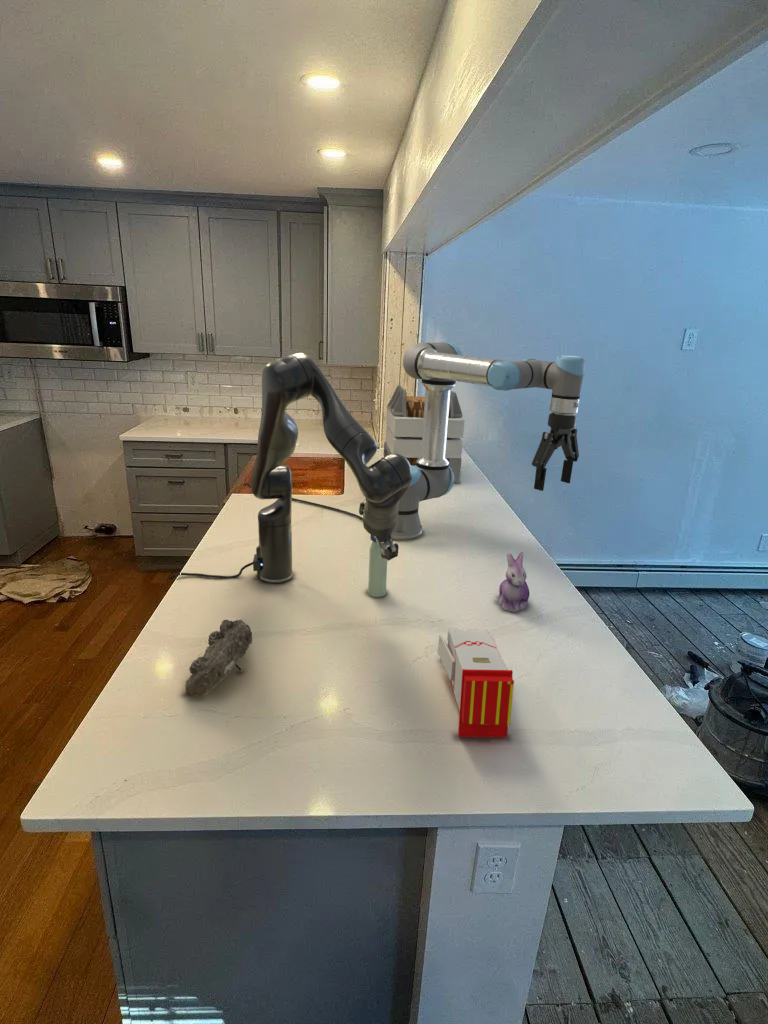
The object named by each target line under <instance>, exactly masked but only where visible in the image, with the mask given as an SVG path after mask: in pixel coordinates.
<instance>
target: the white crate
mask: <svg viewBox="0 0 768 1024" xmlns="http://www.w3.org/2000/svg"><path fill="white" fill-rule="evenodd" d="M407 394H408V393H407V390H406V389H404V388H403V387H402V385H399V384H398V385H397V386H396V388H395V390H394V392H393V394H392V395H391V398H390V400H389V402H388V404H387V405H386V413H385V414H386V415H385V423H386V428H385V438H384V442H383V457H385V456H386V455H389V454H392V453H396V454H400V455H402V456H403V457H405V458H406V459H407V460H408V462H409V463H410V465H413V466H416V461H417V459H418V458H420V457H421V449H422V434H423V419H424V404H425V396H415V395H414V396H413V395H412V396H411V395H407ZM464 429H465V419H464V418H463V411H462V408H461V405H460V402H459V398H458V395H457V392H455V391H453V390H451V392H450V404H449V416H448V428H447V441H446V453H445V458H446V459H447V461H448V462H449V466H450V467H451V469H452V473H454V484H455V483H456V484H459V483H461V472H462V461H463V460H462V453H463V442H464V441H463V440H462V439H463V438H464V431H465V430H464Z"/></svg>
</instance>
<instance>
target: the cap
mask: <svg viewBox="0 0 768 1024" xmlns="http://www.w3.org/2000/svg"><path fill="white" fill-rule="evenodd" d="M370 541H372V542H377V541H376V538H375V537H374V536H373V535H371V534H370ZM380 542H382V541H380Z"/></svg>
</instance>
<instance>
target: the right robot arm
mask: <svg viewBox="0 0 768 1024" xmlns="http://www.w3.org/2000/svg"><path fill="white" fill-rule="evenodd" d="M585 365H586V360H585V358H584V357H582V356H578V355H566V354H565V355H564V354H563V355H558V356H557V357H556V360H555V361H549V360H541V359H536V358H524V359H521V360H506V359H505V360H504V359H503V360H502V359H496V358H487V357H479V356H471V355H464V354H463V352H462V350H461V349H460V347H459V346H457V345H456V344H455V343H451V342H445V341H443V342H442V341H441V342H440V341H439V342H438V341H437V342H417V343H414V344H412V345H411V346H409V347H408V348H407V350H406V351H405V353H404V355H403V358H402V366H403V369H404V372H405V373H406V374H407V375H408V376H409V377H411V378H412V379H415V380H421V385H422V386H423V387H424V389H425V392H424V397H425V404H424V419H423V434H422V449H421V457H420V458H418V459H417V461H416V466H413V465H411V468H412V482H411V484H410V486H409V488H408V490H407V491H406V493H405V494H404V496H403V497H402V498H401V499H400V501H399V506H398V507H399V511H398V517H397V522H396V526H395V529H394V530H393V532H392V533H391V537H392V540H395V541H410V540H415V539H418V538H420V537H421V536H422V535H423V525H422V524H421V518H420V515H419V507H420V506H419V505H420V502H423V501H427V500H431V499H437V498H440V497H443V496H446V495H448V493H450V492H451V490H452V489H453V488H454V487H453V486H454V484H455V483H454V473H452V469H451V467H450V466H449V462H448V461H447V459H446V458H445V453H446V441H447V428H448V416H449V404H450V392H451V391H452V389H453V388H454V387H455V386H456V384H457V382H461V383H465V384H473V385H479V386H487V387H491V388H492V389H494V390H496V391H503V392H504V391H511V390H520V389H532V388H533V389H534V388H539V389H546V390H551V398H550V404H549V413H548V418H547V419H548V420H547V426H548V427H549V428H550V431H549V432H548V431H543V432H542V435H541V440H540V442H539V445H538V447H537V449H536V452H535V454H534V457H533V460H532V461H531V466H533V467H535V475H534V477H535V478H534V485H533V489H534V490H537V491H539V492H543V491H544V489H545V484H546V483H545V482H546V476H547V468H546V466H547V465H548V463H549V461H550V459H551V457H552V456H553V454H554V453H555V451H556V450H557V449H558V448H560V447H561V449H562V452H563V455H564V458H565V459H563V463H562V468H561V469H562V470H561V475H560V482H562V483H566V484H571V478H572V472H573V466H574V463H576V462H578V461H579V457H580V453H579V444H578V428H576V423H577V419H578V416H577V414H578V412H579V411H578V410H579V406H580V397H581V391H582V385H583V380H584V376H585ZM243 486H245V487H246V486H248V488H250V489H251V484H250V483H248V482H245V483H243ZM292 501H293V502H299V503H304V504H308V505H313V506H317V507H321V508H324V509H327V510H332V511H336V512H339V513H343V514H346V515H350V516H352V517H355V518H356V519H357V518H358V519H360V520H361V521H363V519H362V518H363V516H361V515H358V514H355V513H352V512H349V511H346V510H343V509H341V508H336V507H333V506H329V505H324V504H320V503H318V502H317V503H316V502H312V501H308V500H303V499H300V498H294V497H292Z"/></svg>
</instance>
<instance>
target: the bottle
mask: <svg viewBox="0 0 768 1024" xmlns="http://www.w3.org/2000/svg"><path fill="white" fill-rule="evenodd" d="M387 547H388V546H386V547H385V549H386V548H387ZM381 553H382V550H381V548H380V547H379V546H378V544H377V542H373V541H372V542H371V544H370V546H369V560H368V582H367V584H368V585H367V586H368V588H367V593H368V595H369V596H371V597H374V598H381V597H384V596H386V593H387V573H388V560H387V559H385V558H382V557H381Z"/></svg>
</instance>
